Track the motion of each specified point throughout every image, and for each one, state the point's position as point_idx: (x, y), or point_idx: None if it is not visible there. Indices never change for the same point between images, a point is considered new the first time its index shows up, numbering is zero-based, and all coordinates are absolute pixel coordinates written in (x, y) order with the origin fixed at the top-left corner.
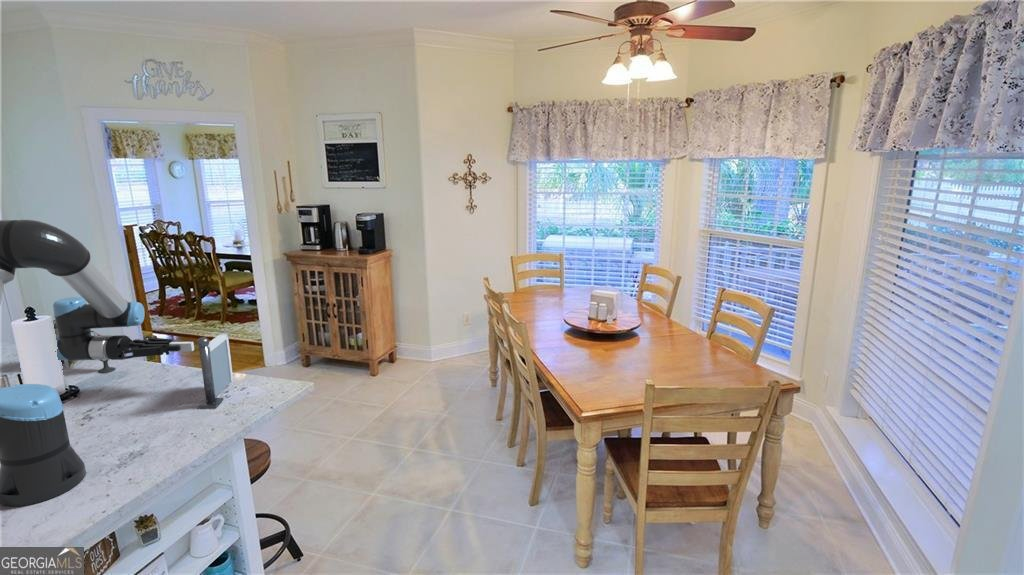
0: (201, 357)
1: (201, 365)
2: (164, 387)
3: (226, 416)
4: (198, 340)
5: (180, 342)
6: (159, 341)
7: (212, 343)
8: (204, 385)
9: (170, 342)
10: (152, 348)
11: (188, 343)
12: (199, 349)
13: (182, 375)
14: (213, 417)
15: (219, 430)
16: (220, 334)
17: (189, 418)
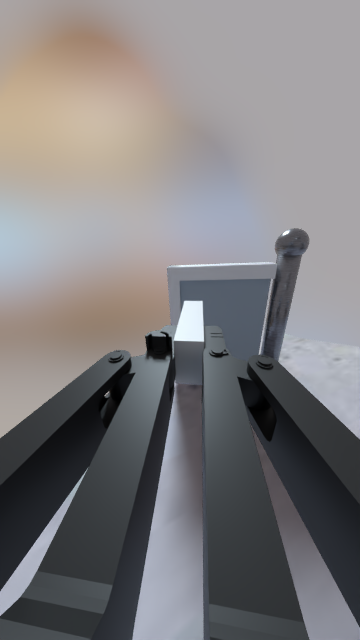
0: (295, 283)
1: (289, 305)
2: (144, 618)
3: (293, 356)
4: (306, 233)
5: (189, 317)
6: (119, 415)
7: (247, 263)
8: (280, 349)
9: (171, 347)
10: (316, 400)
11: (202, 304)
12: (299, 262)
13: (21, 565)
14: (305, 368)
15: (334, 353)
16: (178, 266)
17: (332, 398)
